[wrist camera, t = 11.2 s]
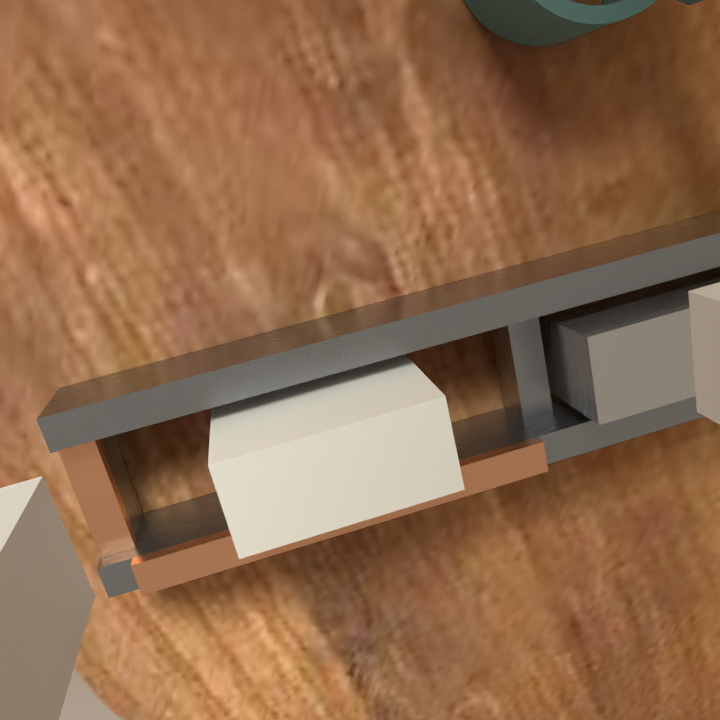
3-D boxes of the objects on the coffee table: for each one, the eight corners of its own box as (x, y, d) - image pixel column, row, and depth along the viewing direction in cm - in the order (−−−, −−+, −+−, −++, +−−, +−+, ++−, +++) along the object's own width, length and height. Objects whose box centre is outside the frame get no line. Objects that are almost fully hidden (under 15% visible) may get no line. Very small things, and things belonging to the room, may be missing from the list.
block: (212, 395, 32) (208, 465, 25) (395, 344, 33) (445, 396, 26) (236, 470, 33) (239, 559, 26) (412, 418, 34) (464, 489, 27)
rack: (60, 388, 31) (22, 438, 25) (761, 199, 35) (865, 205, 29) (122, 549, 33) (100, 627, 28) (768, 356, 37) (866, 391, 32)
